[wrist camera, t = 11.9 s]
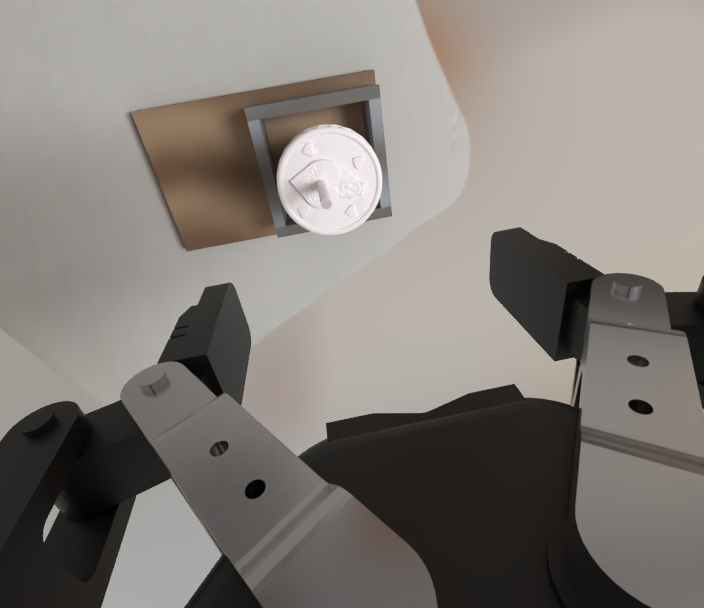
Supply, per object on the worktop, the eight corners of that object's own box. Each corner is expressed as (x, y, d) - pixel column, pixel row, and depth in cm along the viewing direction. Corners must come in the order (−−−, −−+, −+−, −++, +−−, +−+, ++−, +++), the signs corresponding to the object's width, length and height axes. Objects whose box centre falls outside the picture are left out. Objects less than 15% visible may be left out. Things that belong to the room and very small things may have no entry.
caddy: (135, 111, 29) (111, 115, 25) (371, 70, 29) (383, 68, 25) (189, 247, 34) (176, 268, 30) (386, 209, 35) (397, 225, 31)
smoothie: (283, 107, 29) (274, 125, 17) (366, 119, 30) (413, 144, 18) (279, 192, 32) (269, 260, 20) (354, 200, 33) (388, 268, 21)
